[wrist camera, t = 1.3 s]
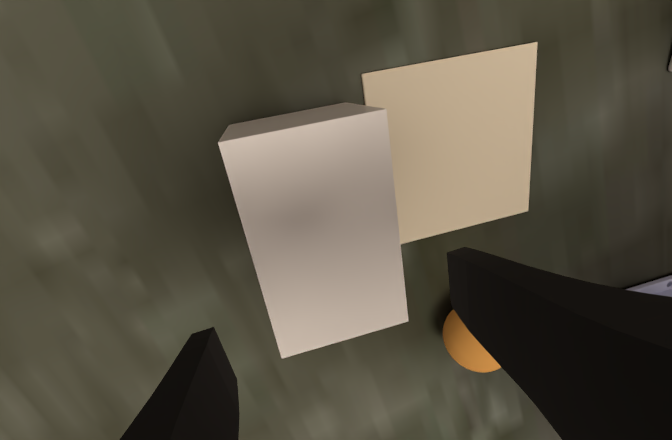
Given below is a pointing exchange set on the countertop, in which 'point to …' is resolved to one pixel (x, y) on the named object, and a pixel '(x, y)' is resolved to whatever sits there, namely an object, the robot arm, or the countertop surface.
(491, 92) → the mark
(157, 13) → the countertop surface
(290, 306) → the white rectangular prism
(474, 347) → the ball
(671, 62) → the supplement box
